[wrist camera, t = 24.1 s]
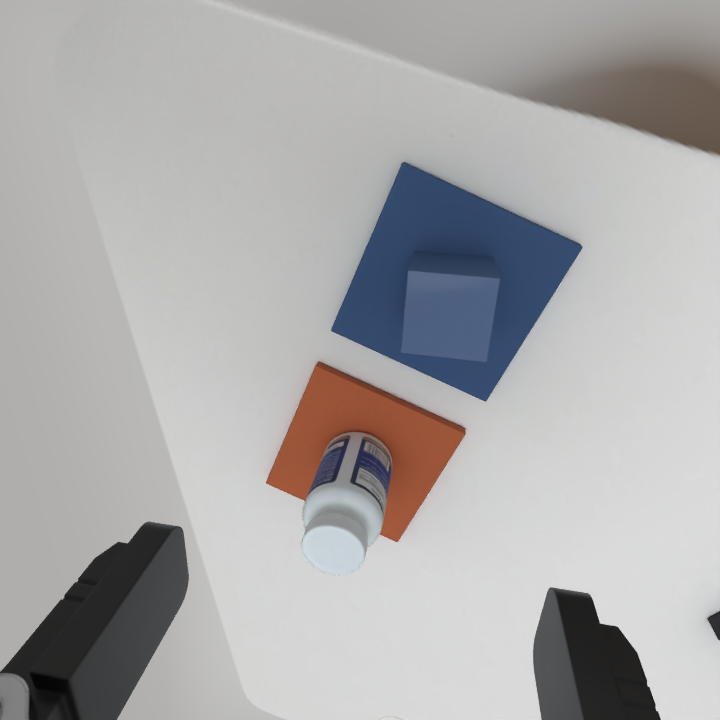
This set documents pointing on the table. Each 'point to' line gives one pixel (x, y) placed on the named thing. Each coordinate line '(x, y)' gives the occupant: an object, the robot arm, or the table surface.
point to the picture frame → (715, 624)
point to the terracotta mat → (371, 416)
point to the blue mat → (452, 236)
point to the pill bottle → (346, 503)
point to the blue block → (450, 305)
